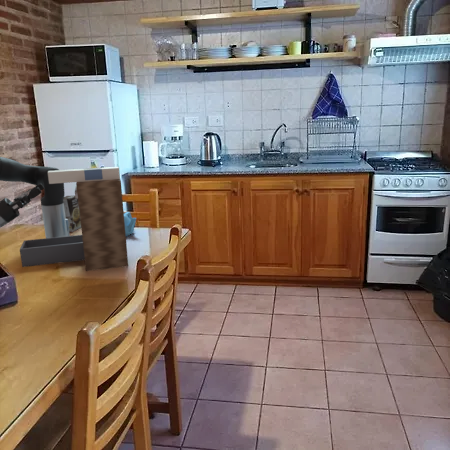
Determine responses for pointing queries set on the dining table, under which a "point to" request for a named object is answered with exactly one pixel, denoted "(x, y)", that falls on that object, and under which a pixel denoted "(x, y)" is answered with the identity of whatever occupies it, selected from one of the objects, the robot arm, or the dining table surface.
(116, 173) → the spaghetti box
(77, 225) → the coffee box
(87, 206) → the brown zigzag patterned box
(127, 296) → the dining table surface
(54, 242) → the tray
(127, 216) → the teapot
